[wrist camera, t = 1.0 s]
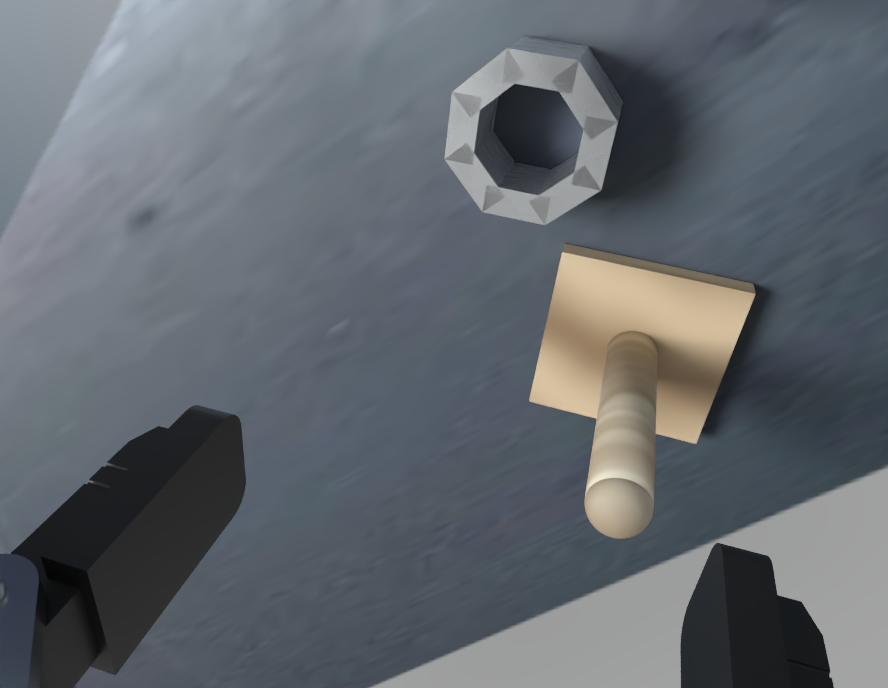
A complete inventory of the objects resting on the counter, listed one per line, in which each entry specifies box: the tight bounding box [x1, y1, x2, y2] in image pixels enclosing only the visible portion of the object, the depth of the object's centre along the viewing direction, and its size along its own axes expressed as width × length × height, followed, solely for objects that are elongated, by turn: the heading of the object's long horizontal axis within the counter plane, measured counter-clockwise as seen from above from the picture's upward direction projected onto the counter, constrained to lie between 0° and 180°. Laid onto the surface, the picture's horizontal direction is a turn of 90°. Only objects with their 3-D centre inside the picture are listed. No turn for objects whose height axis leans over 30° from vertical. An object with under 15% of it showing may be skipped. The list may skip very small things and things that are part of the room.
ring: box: [445, 36, 623, 225], centre depth 27 cm, size 6×6×4 cm
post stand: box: [529, 243, 756, 539], centre depth 27 cm, size 8×8×12 cm
